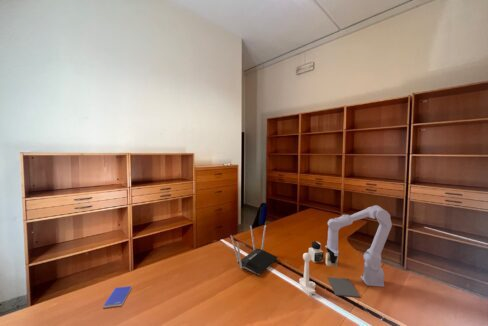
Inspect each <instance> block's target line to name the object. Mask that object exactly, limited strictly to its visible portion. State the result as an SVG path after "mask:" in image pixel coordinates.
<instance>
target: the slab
mask: <svg viewBox="0 0 488 326" xmlns="http://www.w3.org/2000/svg"><path fill="white" fill-rule="evenodd" d="M338 263H339V256H338V257H337V259H336V262H335V264H334V263H331V260H330V254H329V252H327V251H326V252H325V265H326V267H332V268H333V267H335V268H338Z"/></svg>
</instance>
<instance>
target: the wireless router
mask: <svg viewBox="0 0 488 326" xmlns="http://www.w3.org/2000/svg"><path fill="white" fill-rule="evenodd" d="M249 226H250V234H251V241H252V247H253V250H252V251H251V252H250V253H248V254H247V255H246V256H244V257H243V258H241V253H240V252H241V250H240V243H239V242H238V241H236V244H235V241H234V237H233V235H232V234H230V236H229V237H230V238H231V243H232V246H233V249H234V253H235V256H236V260H237V264H238V265H239V268H240V269H246V271H249V272H251V273H254V274H255V275H258V276H260V275H261V274H262V273H263V272H264V271H265V270H266V269H268V267H270V265H272V264H273V263H274V262H275V261H276V260H277V259H278V257H277V256H276V255H274V254H273V253H270V252H268V251H266V250H264V247H265V246H264V245H265V238H266V237H265V236H266V227H267V225H266V224H265V225H264V226H263V233H262V240H261V241H262V242H261V248H256V246H255V238H254V233H253V227H252V225H249ZM236 246H237V247H236Z"/></svg>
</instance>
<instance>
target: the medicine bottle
mask: <svg viewBox="0 0 488 326" xmlns="http://www.w3.org/2000/svg"><path fill="white" fill-rule="evenodd" d="M308 253H309V254H310V255H311V260H310V261H312V262H313V263H315V264H316V263H322V262H324V255H325V254H324V253H325V252H324V250H322V243H321V242H319V241H312V242H311V247H309V248H308Z"/></svg>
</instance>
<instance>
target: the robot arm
mask: <svg viewBox="0 0 488 326" xmlns="http://www.w3.org/2000/svg"><path fill="white" fill-rule="evenodd" d="M391 217H392V216H391V215H390V213H389V212H388V211H387V210H386V209H383V208H382V207H381V206H380V205H377V204H375V205H372V206H369V207H366V208H365V209H363V210H360V211H358V212H355V213H353V214H351V215H350V214H342V215H341V216H339V217H334V218H329V220H328V221H327V226H328V229H327V241H326V245H325V246H324V247H325V249H326V252H329V254H330V260H331V263H334V264H335V262H336V259H337V257H338V258H339V256H340V252H339V230H340V229H341V228H343V227H347V226H350V225H352V224H353V222H354V221H359V220H361V219H365V218H370V219H374V220H375V219H376V220H377V222H378V224H379V225H378V227H377V230H376V233H375V235H374V237H373V239H372V243H371V245H370V248H368V249H366V251H365V252H364V254H363V255H362V257H363V260H364V265H363V275H360V279H361V280H362V282H364V284H365V285H366V286H369V287H370V286H371V287H381V288H382V287H385V272H384V269H383V268H382V252H383V249H384V247H385V244H386V242H387V239H388V237H389V234H390V231H391V229H392V227H393V226H392V225H393V223H392V220H391Z"/></svg>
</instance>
